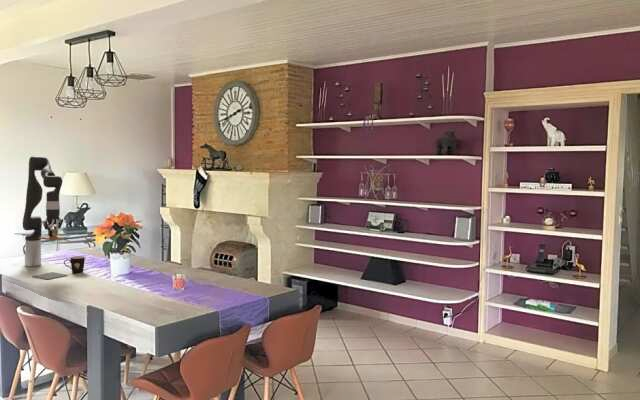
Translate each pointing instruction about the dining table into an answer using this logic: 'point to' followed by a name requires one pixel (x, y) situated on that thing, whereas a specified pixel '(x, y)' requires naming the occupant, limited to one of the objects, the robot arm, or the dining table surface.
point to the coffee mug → (76, 264)
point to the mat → (49, 275)
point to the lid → (53, 236)
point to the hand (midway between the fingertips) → (53, 235)
